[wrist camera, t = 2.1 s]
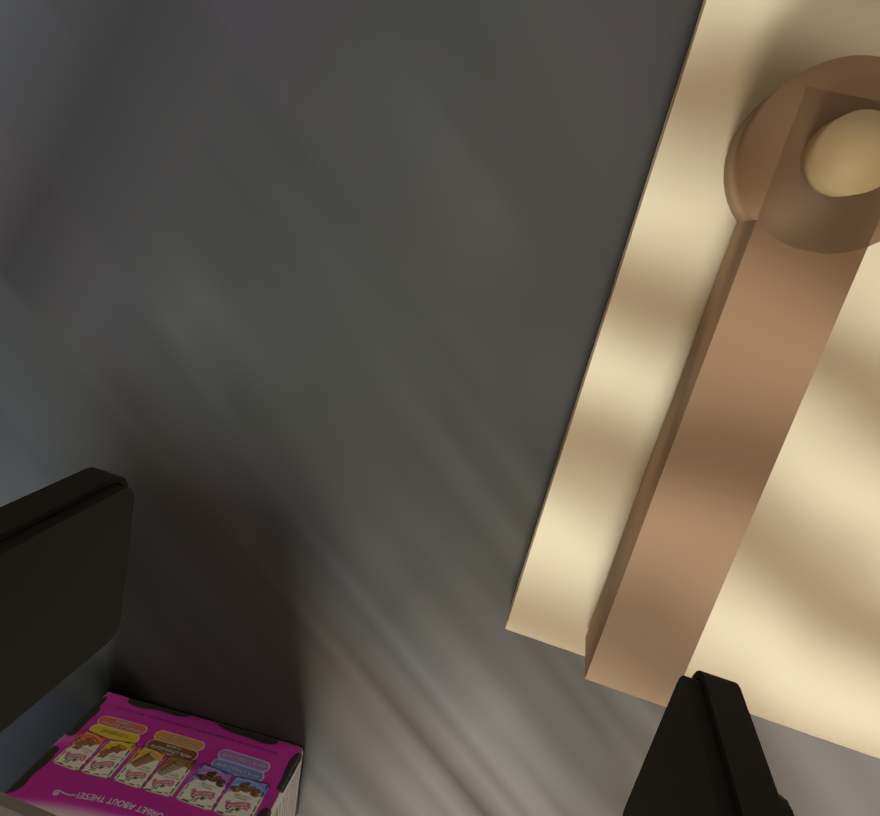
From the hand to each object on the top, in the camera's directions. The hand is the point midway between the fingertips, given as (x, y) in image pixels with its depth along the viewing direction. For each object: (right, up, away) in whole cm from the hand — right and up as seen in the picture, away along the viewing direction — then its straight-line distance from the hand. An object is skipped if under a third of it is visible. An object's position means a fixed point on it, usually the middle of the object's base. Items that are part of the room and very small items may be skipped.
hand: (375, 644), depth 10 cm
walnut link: (+11, +4, +12) cm, 16 cm away
